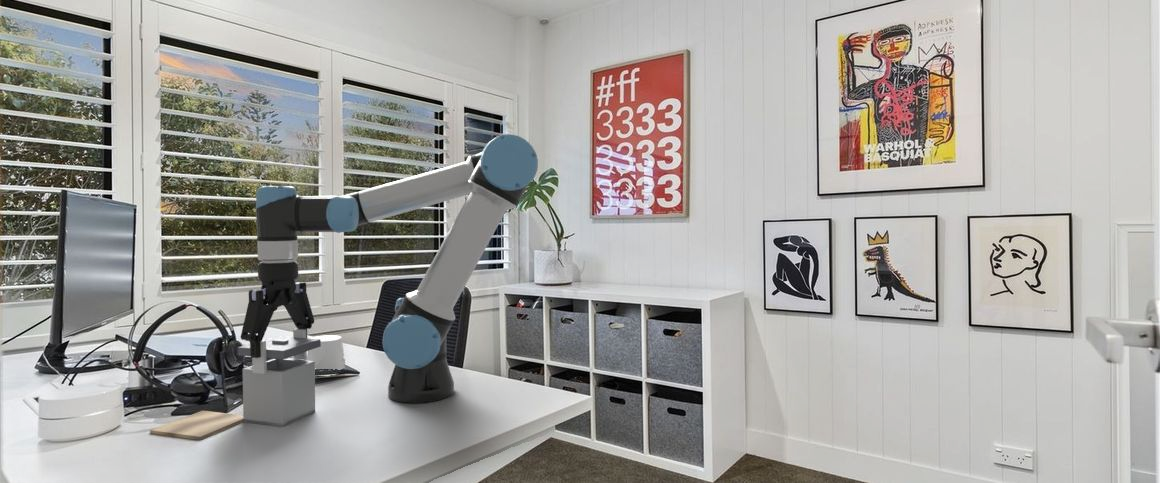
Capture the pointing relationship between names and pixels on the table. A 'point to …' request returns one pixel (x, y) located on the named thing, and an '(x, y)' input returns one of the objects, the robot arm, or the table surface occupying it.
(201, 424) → the wooden square board
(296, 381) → the storage cube
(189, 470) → the table surface
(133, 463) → the table surface
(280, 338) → the lid
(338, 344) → the mug
